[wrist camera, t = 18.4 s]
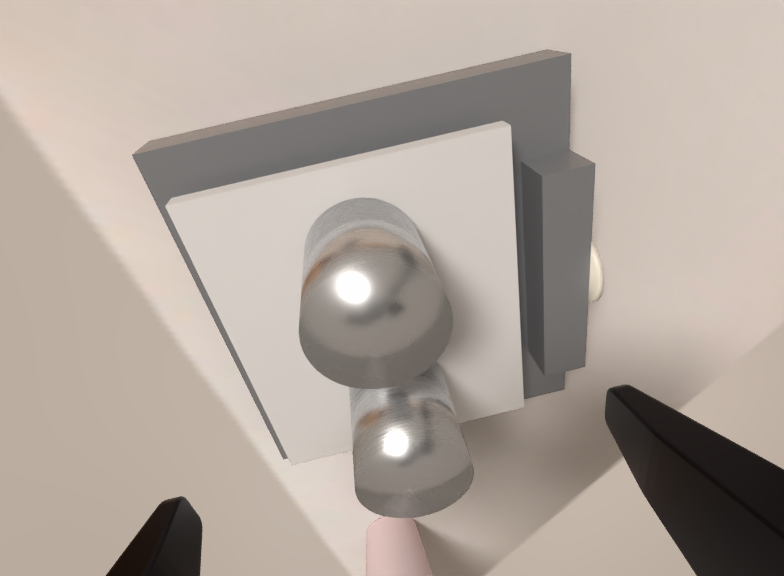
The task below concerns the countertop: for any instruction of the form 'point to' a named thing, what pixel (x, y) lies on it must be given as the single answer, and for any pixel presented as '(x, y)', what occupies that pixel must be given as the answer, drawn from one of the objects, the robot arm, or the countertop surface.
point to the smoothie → (395, 549)
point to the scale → (429, 215)
